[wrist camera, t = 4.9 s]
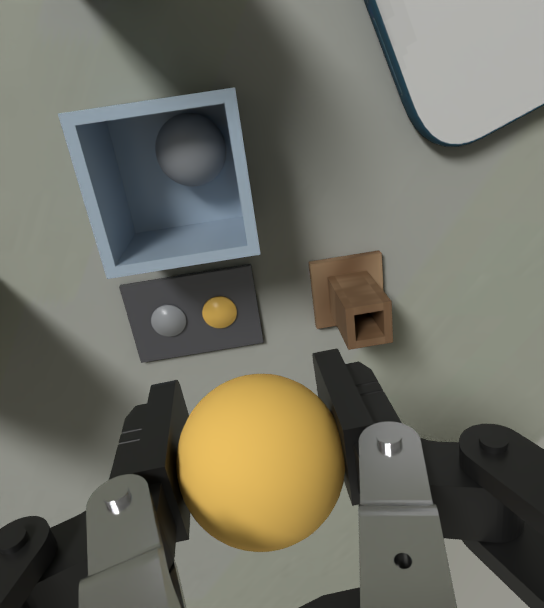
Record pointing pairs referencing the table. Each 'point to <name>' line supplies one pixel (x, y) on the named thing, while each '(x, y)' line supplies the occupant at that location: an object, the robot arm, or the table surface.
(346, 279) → the brown square ball stand
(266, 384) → the ball amber
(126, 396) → the table surface
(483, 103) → the white rounded slab
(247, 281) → the card
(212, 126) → the ball grey
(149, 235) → the blue open box
